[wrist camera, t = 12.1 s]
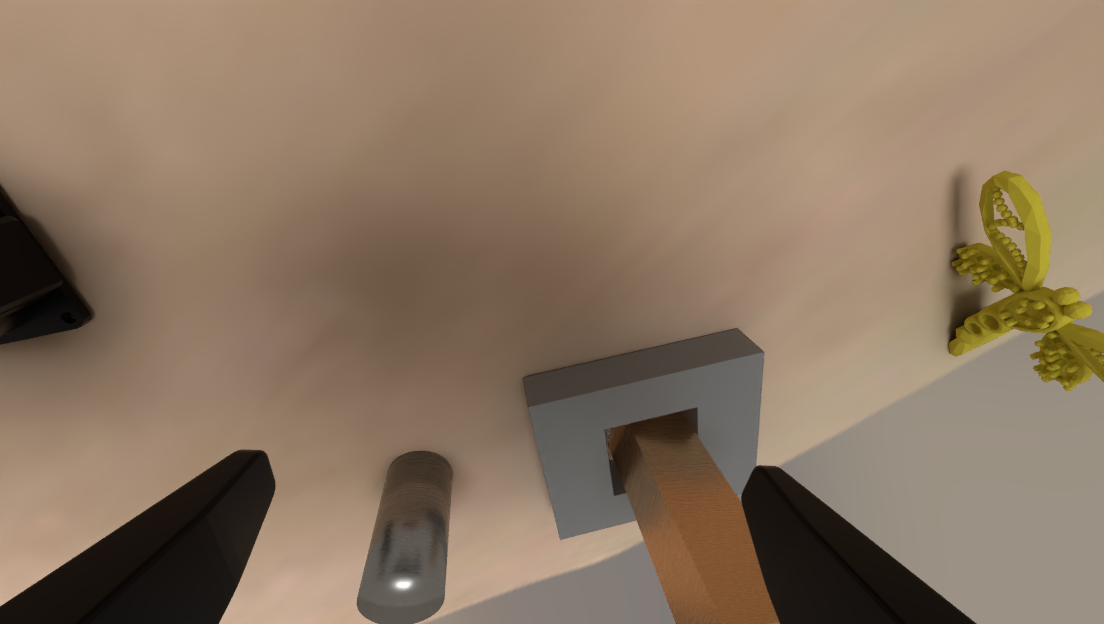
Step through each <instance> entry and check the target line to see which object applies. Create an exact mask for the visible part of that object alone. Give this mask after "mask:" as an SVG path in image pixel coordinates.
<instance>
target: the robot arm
mask: <svg viewBox="0 0 1104 624" xmlns="http://www.w3.org/2000/svg"><path fill="white" fill-rule="evenodd" d="M69 313H71V314H73V315H74V316H75V317H76V319H75V318H73V317H72V316H71V315H70V314H69ZM90 320H91V314H90V312H89V310H88V309H87V308H86V306H85V305H84V303H83V302H82V301H81V299H80V298H79V297H78V295H77V294H76V293H75V291H74V290H73V289H72V287H71V286H70V285H69V283H68V282H67V281H66V279H65V278H64V277H63V275H62V274H61V273H60V271H59V270H58V269H57V267H56V266H55V265H54V263H53V262H52V261H51V259H50V258H49V257H48V255H47V254H46V253H45V251H44V250H43V248H42V247H41V246H40V244H39V243H38V242H37V240H36V239H35V238H34V236H33V235H32V234H31V232H30V231H29V230H28V228H27V227H26V226H25V224H24V223H23V222H22V220H21V219H20V218H19V216H18V215H17V214H16V212H15V211H14V210H13V208H12V207H11V206H10V204H9V203H8V202H7V200H6V199H5V198H4V196H3V195H2V193H1V192H0V344H5V343H10V342H15V341H20V340H24V339H29V338H34V337H39V336H43V335H48V334H53V333H58V332H63V331H67V330H72V329H77V328H79V327H81V326H83V325H85V324H87V323H88V322H89V321H90ZM274 492H275V479H274V476H273V472H272V469H271V466H270V462H269V459H268V456H267V454H266V453H265V452H264V451H262V450H238V451H235V452H233V453H232V454H230V455H229V456H227V457H226V458H224V459H223V460H221V461H220V462H218V463H217V464H215V465H214V466H212V467H211V468H209V469H207V470H206V471H204V472H203V473H201V474H200V475H198V476H197V477H195V478H194V479H192V480H191V481H189V482H188V483H186V484H185V485H183V486H182V487H180V488H179V489H177V490H176V491H174V492H173V493H171V494H170V495H168V496H167V497H165V498H164V499H162V500H161V501H159V502H158V503H156V504H155V505H153V506H151V507H150V508H148V509H147V510H145V511H144V512H142V513H141V514H139V515H138V516H136V517H135V518H133V519H132V520H130V521H129V522H127V523H126V524H124V525H123V526H121V527H120V528H118V529H117V530H115V531H114V532H112V533H111V534H109V535H108V536H106V537H105V538H103V539H102V540H100V541H99V542H97V543H95V544H94V545H92V546H91V547H89V548H88V549H86V550H85V551H83V552H82V553H80V554H79V555H77V556H76V557H74V558H73V559H71V560H70V561H68V562H67V563H65V564H64V565H62V566H61V567H59V568H58V569H56V570H55V571H53V572H52V573H50V574H49V575H47V576H46V577H44V578H43V579H41V580H39V581H38V582H36V583H35V584H33V585H32V586H30V587H29V588H27V589H26V590H24V591H23V592H21V593H20V594H18V595H17V596H15V597H14V598H12V599H11V600H9V601H8V602H6V603H5V604H3V605H2V606H0V624H219V622H220V620H221V618H222V616H223V614H224V612H225V610H226V608H227V607H228V605H229V603H230V601H231V598H232V596H233V594H234V592H235V590H236V588H237V586H238V584H239V581H240V579H241V577H242V574H243V572H244V569H245V567H246V564H247V562H248V559H249V557H250V554H251V552H252V549H253V547H254V544H255V541H256V539H257V536H258V534H259V531H260V529H261V526H262V524H263V521H264V519H265V516H266V514H267V511H268V508H269V506H270V503H271V501H272V498H273V496H274ZM741 502H742V507H743V511H744V514H745V518H746V521H747V525H748V528H749V531H750V535H751V538H752V542H753V545H754V549H755V552H756V556H757V559H758V563H759V566H760V569H761V573H762V576H763V579H764V582H765V586H766V588H767V591H768V594H769V597H770V599H771V602H772V605H773V607H774V610H775V612H776V615H777V617H778V620H779V622H780V624H976V623H975V622H974V621H972V620H971V619H970V618H969V617H967V616H966V615H965V614H964V613H962V612H961V611H960V610H959V609H957V608H956V607H955V606H953V605H952V604H951V603H950V602H949V601H947V600H946V599H945V598H943V597H942V596H941V595H940V594H938V593H937V592H936V591H935V590H933V589H932V588H931V587H929V586H928V585H927V584H926V583H924V582H923V581H922V580H921V579H920V578H918V577H917V576H916V575H914V574H913V573H912V572H911V571H909V570H908V569H907V568H906V567H904V566H903V565H902V564H901V563H899V562H898V561H897V560H895V559H894V558H893V557H892V556H891V555H889V554H888V553H887V552H885V551H884V550H883V549H882V548H880V547H879V546H878V545H876V544H875V543H874V542H873V541H871V540H870V539H869V538H868V537H867V536H865V535H864V534H863V533H862V532H860V531H859V530H858V529H856V528H855V527H854V526H853V525H851V524H850V523H849V522H848V521H846V520H845V519H844V518H842V517H841V516H840V515H839V514H838V513H836V512H835V511H834V510H833V509H831V508H830V507H829V506H827V505H826V504H825V503H824V502H822V501H821V500H820V499H819V498H817V497H816V496H815V495H814V494H812V493H811V492H810V491H809V490H807V489H806V488H805V487H804V486H802V485H801V484H800V483H798V482H797V481H796V480H795V479H793V478H792V477H791V476H790V475H788V474H787V473H786V472H784V471H783V470H782V469H781V468H779V467H776V466H761V465H759V466H756V467H755V468H754V469H753V470H752V472H751V475H750V477H749V479H748V481H747V483H746V485H745V487H744V490H743V492H742V497H741Z"/></svg>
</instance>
